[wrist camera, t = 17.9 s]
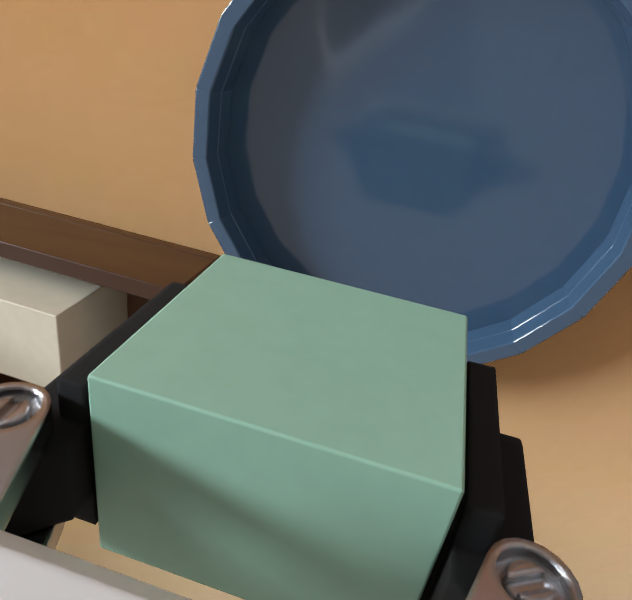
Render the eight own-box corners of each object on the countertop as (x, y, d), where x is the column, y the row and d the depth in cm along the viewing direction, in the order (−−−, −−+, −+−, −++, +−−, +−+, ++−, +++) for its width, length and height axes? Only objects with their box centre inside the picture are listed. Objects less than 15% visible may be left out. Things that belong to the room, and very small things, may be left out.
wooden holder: (-42, 186, 27) (-121, 207, 24) (220, 255, 25) (177, 290, 21) (-7, 394, 33) (-65, 436, 30) (204, 465, 31) (169, 520, 27)
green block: (223, 252, 12) (85, 374, 8) (468, 315, 11) (465, 491, 7) (213, 389, 14) (98, 548, 10) (422, 452, 13) (397, 656, 9)
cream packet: (28, 243, 27) (-60, 281, 22) (127, 270, 26) (56, 316, 21) (35, 311, 29) (-44, 359, 24) (128, 339, 28) (63, 394, 23)
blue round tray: (238, -130, 18) (205, -153, 16) (755, -62, 15) (802, -79, 13) (210, 288, 26) (185, 311, 23) (553, 383, 23) (561, 418, 21)
